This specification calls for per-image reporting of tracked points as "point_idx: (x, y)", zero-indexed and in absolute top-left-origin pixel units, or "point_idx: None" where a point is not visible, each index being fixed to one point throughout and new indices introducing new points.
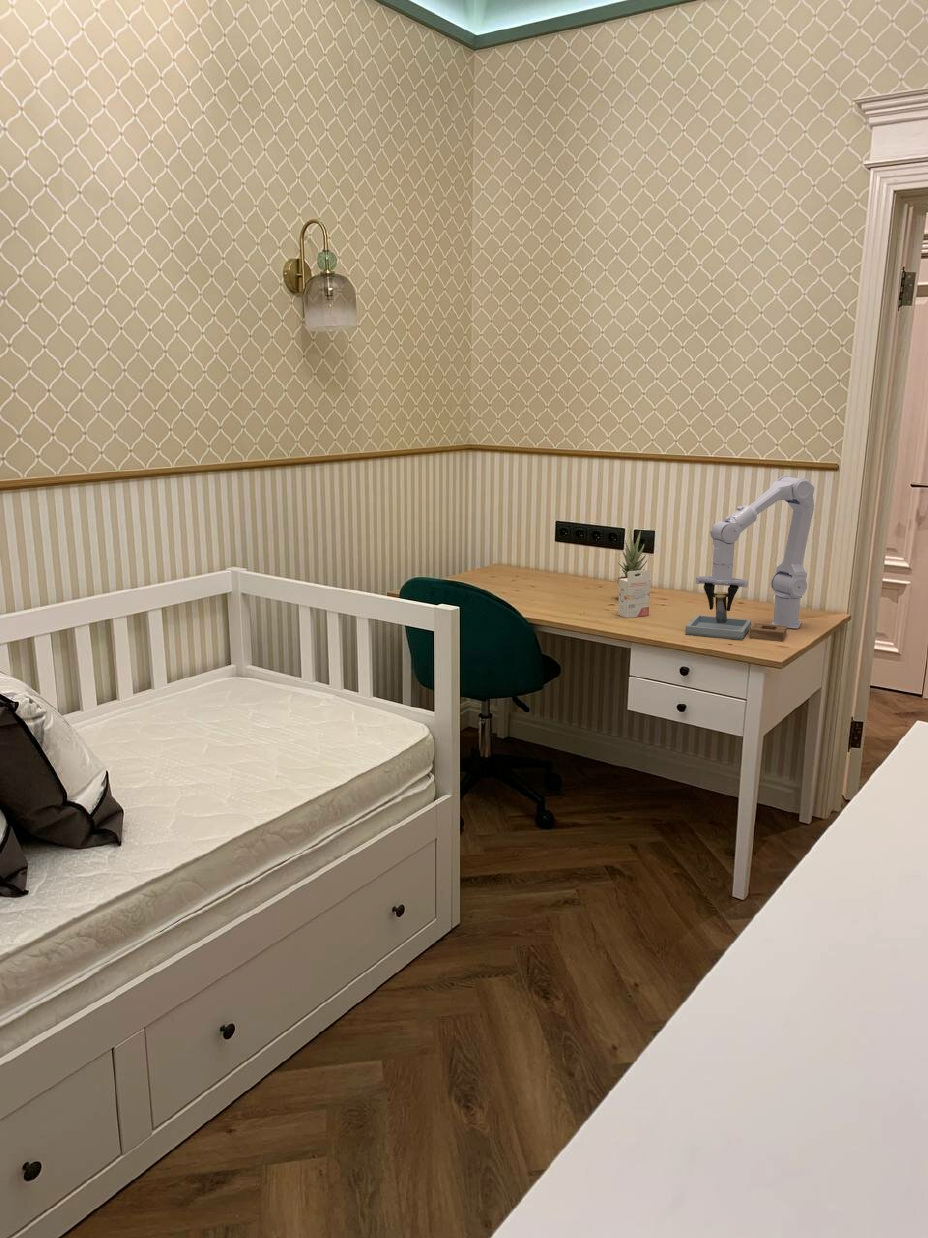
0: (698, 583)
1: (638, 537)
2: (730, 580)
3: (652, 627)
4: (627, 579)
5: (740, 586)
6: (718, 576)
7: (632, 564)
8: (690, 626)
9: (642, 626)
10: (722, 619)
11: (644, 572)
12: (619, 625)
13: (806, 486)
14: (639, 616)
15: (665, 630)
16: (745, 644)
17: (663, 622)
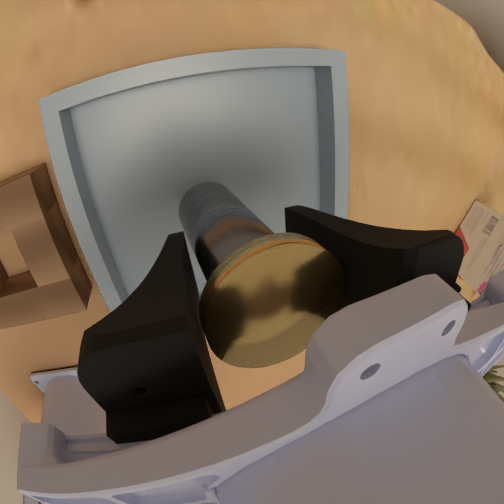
0: (493, 278)
1: None
2: (210, 479)
3: (431, 123)
4: None
5: (92, 436)
6: (466, 422)
7: (488, 381)
8: (325, 51)
9: (450, 124)
10: (196, 193)
11: None
12: (482, 113)
13: None
14: (455, 232)
15: (396, 96)
16: (26, 44)
17: (413, 208)
